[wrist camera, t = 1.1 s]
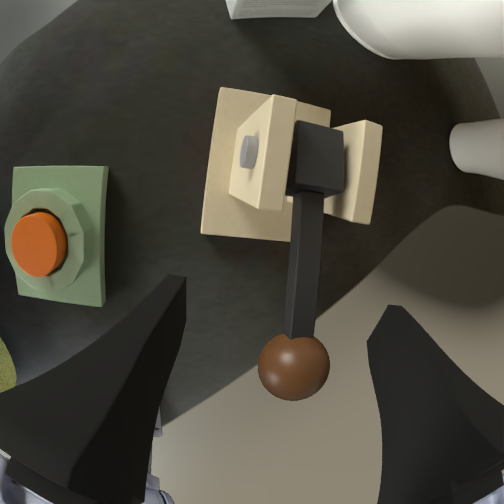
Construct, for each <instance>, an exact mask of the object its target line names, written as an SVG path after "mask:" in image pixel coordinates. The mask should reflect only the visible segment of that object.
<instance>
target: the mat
mask: <svg viewBox="0 0 504 504" xmlns="http://www.w3.org/2000/svg"><path fill="white" fill-rule="evenodd" d="M16 379H17V377H16V371H15V366H14V364H13V361H12V359H11V356H10V353H9V351H8V350H7V348H6V346H5V344H4V342H3V341H2V339H1V338H0V393H1V392H3V391H6V390H9V389H11V388H14V387H15V386H16V382H17V380H16Z"/></svg>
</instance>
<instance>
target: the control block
mask: <svg viewBox="0 0 504 504" xmlns="http://www.w3.org/2000/svg"><path fill="white" fill-rule="evenodd" d="M108 170H109V167H104V166H31V167H14V171H13V187H12V208H11V210H10V213H9V216H8V218H7V221H6V224H5V246H6V253H7V256H8V258H9V260H10V262H11V264H12V266H13V268H14V270H15V272H16V280H17V287H18V293H19V295H23V296H29V297H35V298H41V299H47V300H53V301H60V302H67V303H74V304H81V305H89V306H97V307H102V306H103V305H104V303H105V301H106V291H105V262H104V238H105V208H106V193H107V180H108ZM37 212H46V213H49V214H51V215H52V216H54V217H55V218H56V219H57V220H58V221H59V222H60V224H61V225H62V227H63V229H64V232H65V235H66V242H67V246H66V253H65V256H64V259H63V261H62V262H61V263H60V265H59V266H57V267H56V268H55V269H54V270H52V271H51V272H50V273H49V274H47V275H45V276H42V277H34V276H30V275H28V274H27V273H25V272H24V271H23V270H22V269H21V268H20V267H19V266H18V264H17V263H16V261H15V259H14V256H13V253H12V249H11V236H12V232H13V229H14V227H15V225H16V223H17V222H18V221H19V220H20V219H21V218H23V217H24V216H27V215H30V214H33V213H37Z"/></svg>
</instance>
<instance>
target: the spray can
mask: <svg viewBox="0 0 504 504" xmlns="http://www.w3.org/2000/svg"><path fill="white" fill-rule="evenodd" d="M333 8H334V11H335V13H336V15H337V17H338V19H339V21H340V22H341V24H342V25H343V27H344V28H345V29H346V30H347V32H348V33H349V34H350V35H351V36H352V37H353V38H354V39H355V40H357V41H358V42H359V43H360V44H361V45H363V46H364V47H365V48H367V49H368V50H370V51H372V52H373V53H375V54H377V55H379V56H382V57H385V58H388V59H396V60H398V59H424V60H425V59H440V58H504V0H333Z"/></svg>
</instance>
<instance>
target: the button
mask: <svg viewBox="0 0 504 504" xmlns="http://www.w3.org/2000/svg"><path fill="white" fill-rule="evenodd" d="M66 246H67V242H66V235H65V232H64V229H63V227H62V225H61V224H60V222H59V221H58V220H57V219H56V218H55V217H54V216H52V215H51V214H49V213H46V212H37V213H33V214H30V215H27V216H24V217H23V218H21V219H20V220H19V221H18V222H17V223H16V225H15V227H14V229H13V232H12V236H11V249H12V253H13V256H14V259H15V261H16V263H17V264H18V266H19V267H20V268H21V269H22V270H23V271H24V272H25V273H27V274H28V275H30V276H34V277H42V276H45V275H47V274H49V273H50V272H51V271H52V270H54V269H55V268H56V267H57V266H59V265H60V263H61V262H62V261H63V259H64V256H65V253H66Z"/></svg>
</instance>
